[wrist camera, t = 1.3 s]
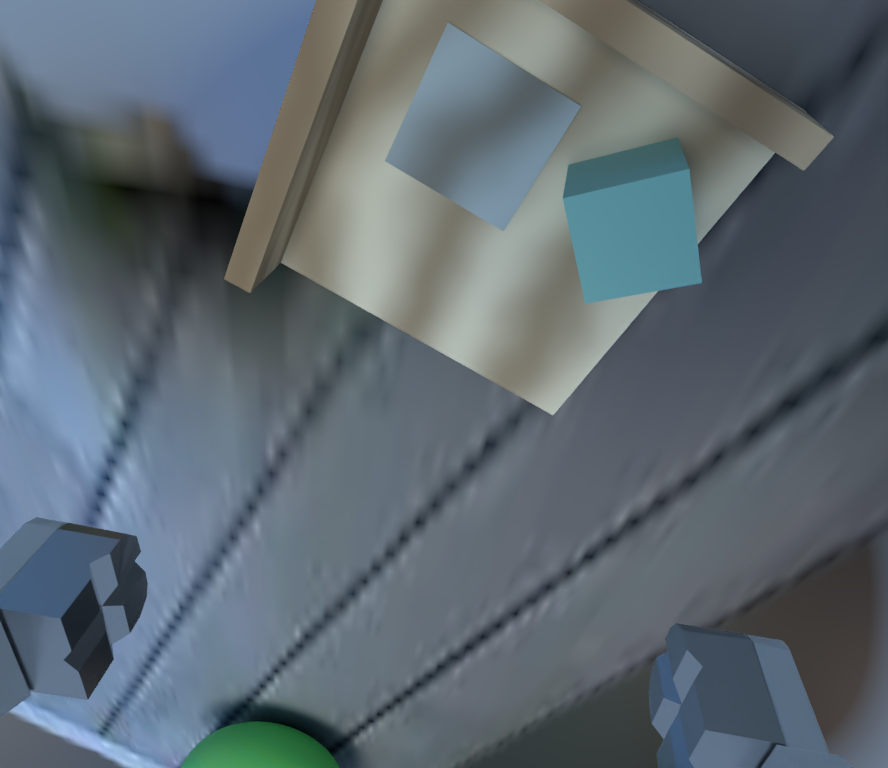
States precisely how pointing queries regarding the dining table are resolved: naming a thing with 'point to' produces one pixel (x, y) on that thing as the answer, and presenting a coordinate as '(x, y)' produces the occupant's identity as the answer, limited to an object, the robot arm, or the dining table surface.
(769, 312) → the dining table surface
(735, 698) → the robot arm
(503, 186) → the arena
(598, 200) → the cube
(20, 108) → the dining table surface
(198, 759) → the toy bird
